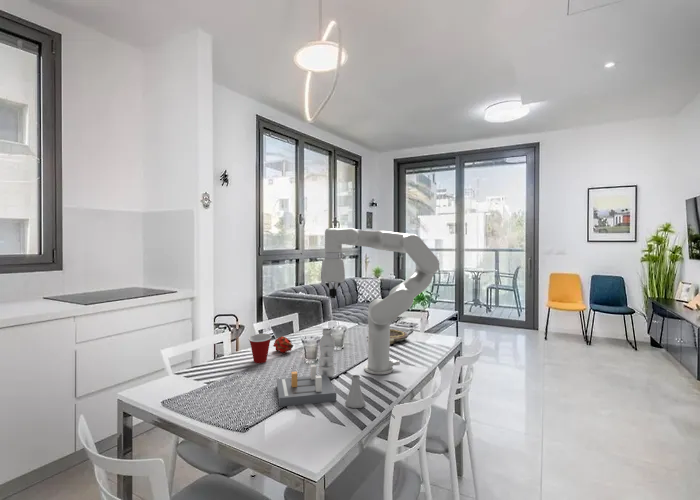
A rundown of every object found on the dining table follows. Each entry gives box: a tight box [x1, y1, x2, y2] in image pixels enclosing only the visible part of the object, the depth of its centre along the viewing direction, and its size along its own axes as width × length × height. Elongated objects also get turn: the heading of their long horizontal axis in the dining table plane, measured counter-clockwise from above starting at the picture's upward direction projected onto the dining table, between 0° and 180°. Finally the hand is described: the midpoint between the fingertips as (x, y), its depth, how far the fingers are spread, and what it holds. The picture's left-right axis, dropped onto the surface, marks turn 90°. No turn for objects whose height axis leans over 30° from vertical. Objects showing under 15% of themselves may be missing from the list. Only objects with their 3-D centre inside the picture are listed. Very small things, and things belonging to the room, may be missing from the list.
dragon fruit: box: [272, 335, 294, 355], centre depth 191 cm, size 8×8×12 cm
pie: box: [366, 328, 409, 345], centre depth 217 cm, size 28×27×5 cm
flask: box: [344, 374, 366, 409], centre depth 131 cm, size 7×7×10 cm
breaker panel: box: [276, 364, 337, 408], centre depth 140 cm, size 20×18×8 cm
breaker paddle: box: [290, 371, 298, 387], centre depth 139 cm, size 2×2×5 cm
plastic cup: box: [248, 333, 273, 364], centre depth 175 cm, size 11×11×12 cm
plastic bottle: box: [318, 328, 336, 379], centre depth 157 cm, size 6×7×20 cm
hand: (332, 297), depth 165 cm, fingers closed
